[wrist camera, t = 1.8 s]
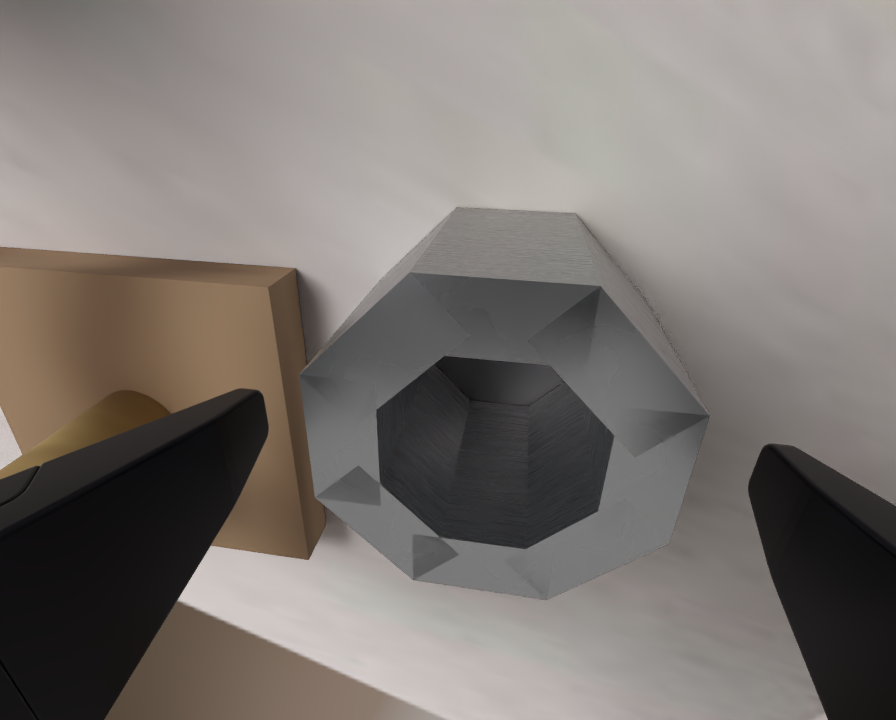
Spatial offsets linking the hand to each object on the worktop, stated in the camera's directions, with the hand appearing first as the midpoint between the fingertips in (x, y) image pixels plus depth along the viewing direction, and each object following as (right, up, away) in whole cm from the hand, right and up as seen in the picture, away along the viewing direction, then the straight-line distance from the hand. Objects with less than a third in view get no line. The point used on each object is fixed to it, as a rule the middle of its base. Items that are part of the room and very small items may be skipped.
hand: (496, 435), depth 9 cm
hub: (+1, +2, +4) cm, 4 cm away
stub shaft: (-9, 0, +6) cm, 11 cm away
